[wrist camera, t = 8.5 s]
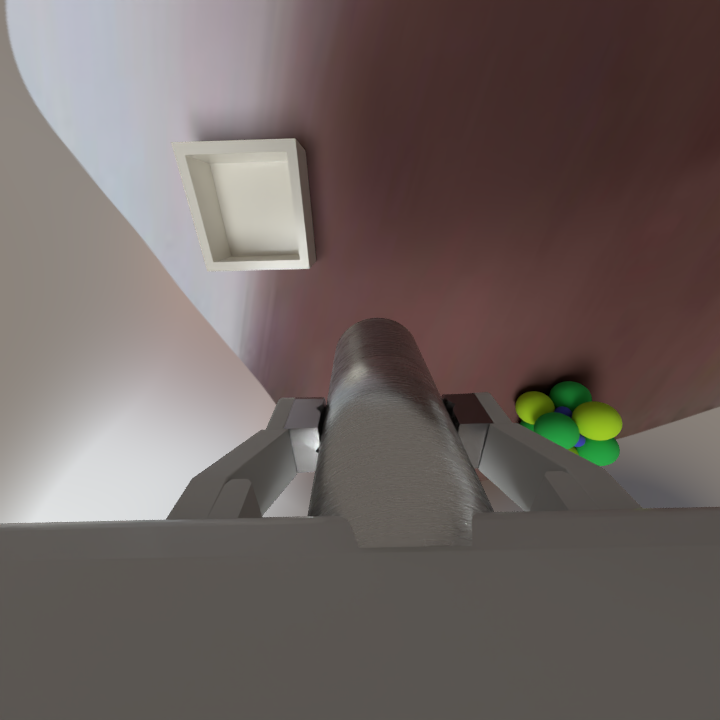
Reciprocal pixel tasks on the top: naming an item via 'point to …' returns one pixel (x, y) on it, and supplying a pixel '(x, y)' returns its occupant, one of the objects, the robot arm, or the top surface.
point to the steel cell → (392, 447)
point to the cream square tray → (249, 203)
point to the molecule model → (573, 421)
